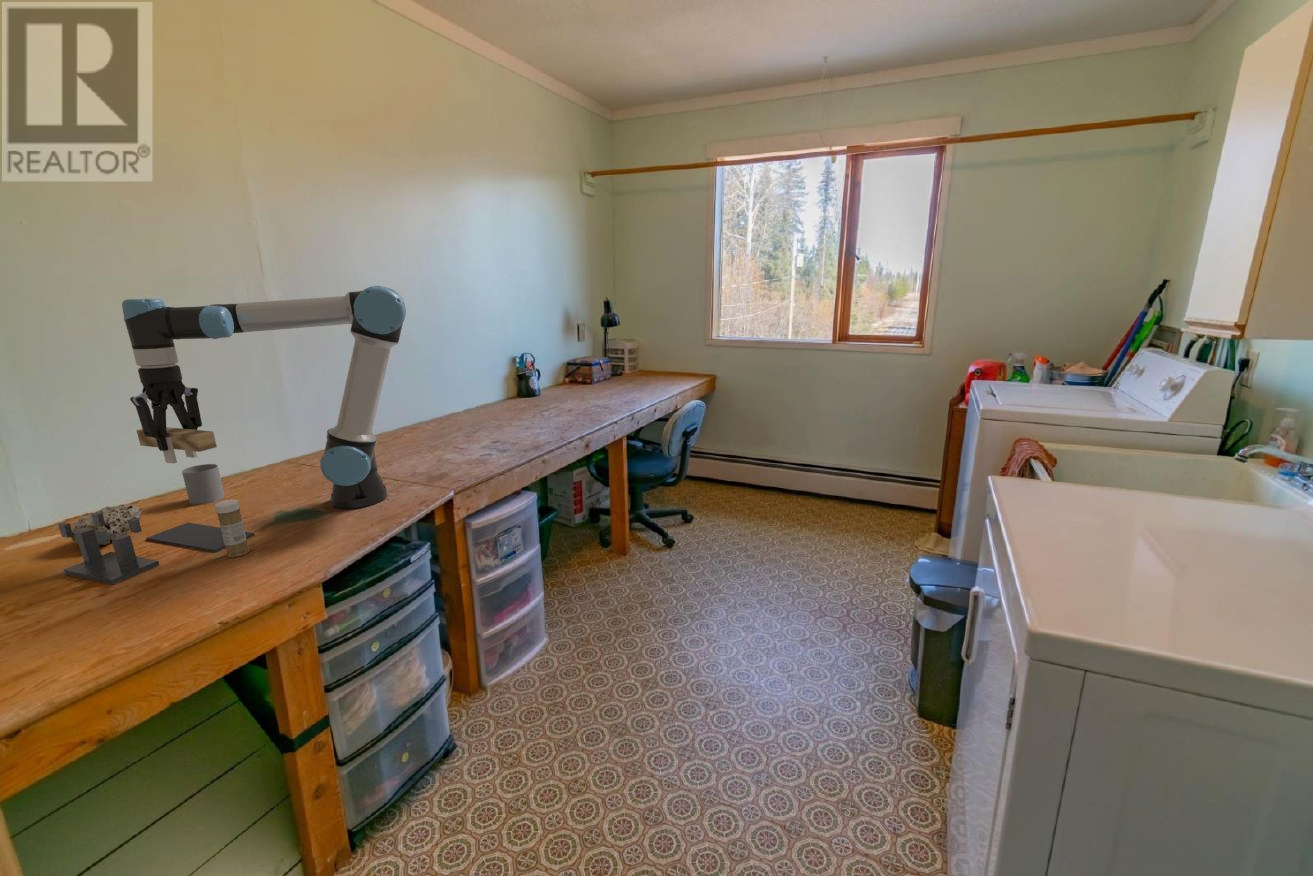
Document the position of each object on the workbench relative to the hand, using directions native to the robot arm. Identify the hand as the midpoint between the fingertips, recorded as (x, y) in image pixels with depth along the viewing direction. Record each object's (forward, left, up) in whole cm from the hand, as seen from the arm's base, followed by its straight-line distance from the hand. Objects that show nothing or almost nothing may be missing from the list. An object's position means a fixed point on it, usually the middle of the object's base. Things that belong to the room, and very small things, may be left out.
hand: (181, 459), depth 137 cm
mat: (0, 0, -21) cm, 21 cm away
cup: (+26, -20, -22) cm, 39 cm away
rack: (+2, +18, -21) cm, 28 cm away
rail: (0, 0, +3) cm, 3 cm away
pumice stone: (+21, +7, -22) cm, 31 cm away
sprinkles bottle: (-18, +4, -22) cm, 28 cm away
